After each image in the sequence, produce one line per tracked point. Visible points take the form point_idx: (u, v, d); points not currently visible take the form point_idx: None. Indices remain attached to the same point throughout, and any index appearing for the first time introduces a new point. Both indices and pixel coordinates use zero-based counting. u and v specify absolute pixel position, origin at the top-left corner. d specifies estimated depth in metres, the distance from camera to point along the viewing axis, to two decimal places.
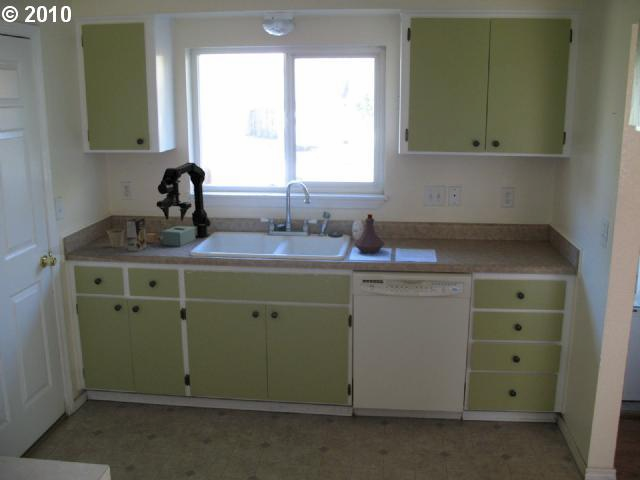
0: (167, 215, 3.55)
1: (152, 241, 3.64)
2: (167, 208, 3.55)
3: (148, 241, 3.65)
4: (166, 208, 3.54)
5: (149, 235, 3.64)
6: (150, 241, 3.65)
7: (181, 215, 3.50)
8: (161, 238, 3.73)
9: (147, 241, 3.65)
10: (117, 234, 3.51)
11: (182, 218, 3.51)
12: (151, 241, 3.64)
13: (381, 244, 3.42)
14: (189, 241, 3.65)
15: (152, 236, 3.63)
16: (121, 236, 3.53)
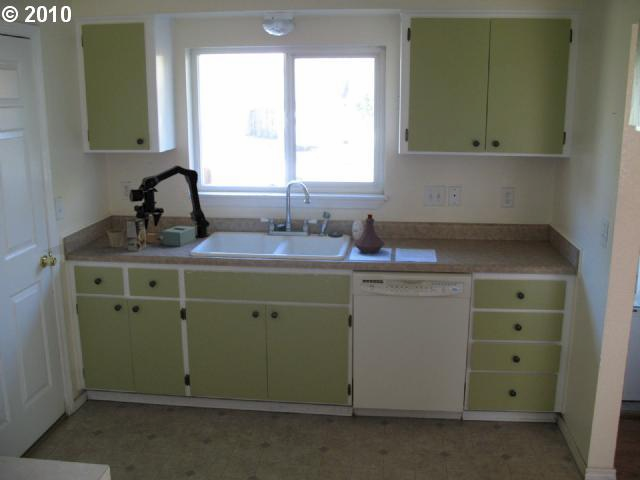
0: (155, 222, 3.68)
1: (152, 241, 3.64)
2: (157, 216, 3.67)
3: (148, 241, 3.65)
4: (155, 215, 3.68)
5: (149, 235, 3.64)
6: (150, 241, 3.65)
7: None
8: (161, 238, 3.73)
9: (147, 241, 3.65)
10: (117, 234, 3.51)
11: None
12: (151, 241, 3.64)
13: (381, 244, 3.42)
14: (189, 241, 3.65)
15: (152, 236, 3.63)
16: (121, 236, 3.53)
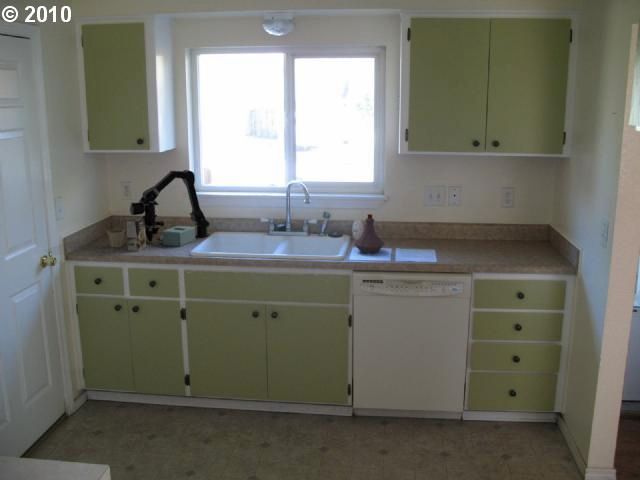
0: None
1: (152, 241, 3.64)
2: (154, 230, 3.66)
3: (148, 241, 3.65)
4: (152, 229, 3.66)
5: None
6: (150, 241, 3.65)
7: (147, 235, 3.64)
8: (161, 238, 3.73)
9: (147, 241, 3.65)
10: (117, 234, 3.51)
11: (148, 239, 3.64)
12: (151, 241, 3.64)
13: (381, 244, 3.42)
14: (189, 241, 3.65)
15: (152, 236, 3.63)
16: (121, 236, 3.53)
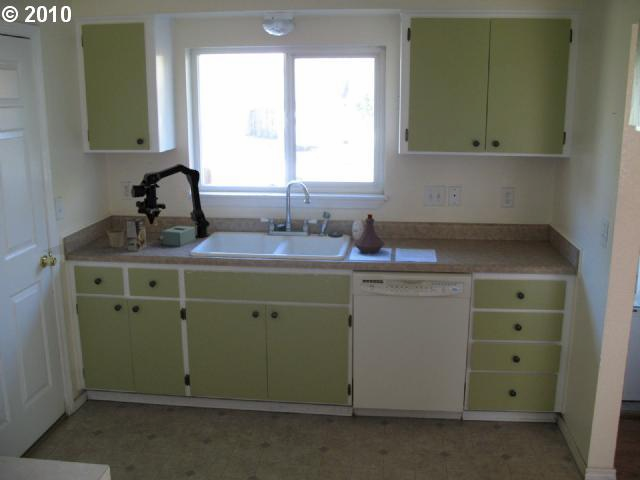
0: None
1: (153, 224, 3.62)
2: (155, 212, 3.64)
3: (149, 224, 3.63)
4: (154, 212, 3.64)
5: None
6: (151, 224, 3.63)
7: None
8: (161, 238, 3.73)
9: (148, 224, 3.63)
10: (117, 234, 3.51)
11: (150, 222, 3.62)
12: (152, 224, 3.62)
13: (381, 244, 3.42)
14: (189, 241, 3.65)
15: (153, 219, 3.61)
16: (121, 236, 3.53)
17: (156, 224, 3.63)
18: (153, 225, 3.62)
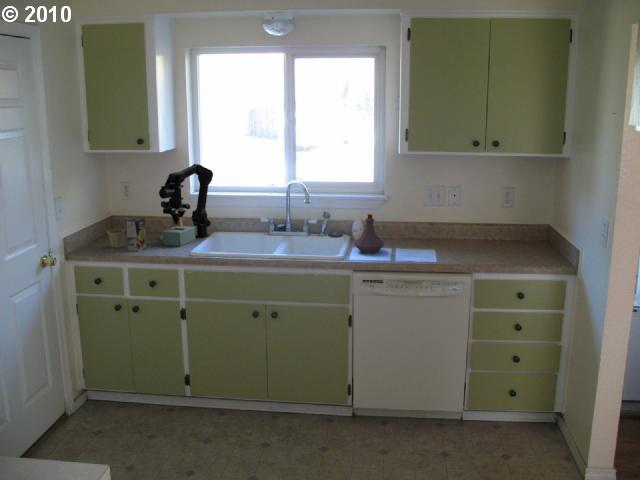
0: None
1: (178, 224, 3.62)
2: (180, 213, 3.63)
3: (174, 224, 3.63)
4: (178, 212, 3.64)
5: None
6: (176, 224, 3.62)
7: None
8: (161, 238, 3.73)
9: (173, 224, 3.63)
10: (117, 234, 3.51)
11: (174, 222, 3.61)
12: (177, 224, 3.62)
13: (381, 244, 3.42)
14: (189, 241, 3.65)
15: (178, 219, 3.61)
16: (121, 236, 3.53)
17: (181, 224, 3.62)
18: (178, 225, 3.62)
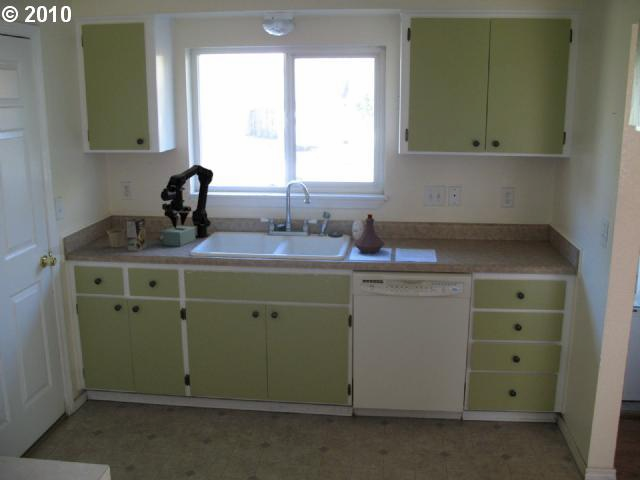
0: (182, 221, 3.66)
1: None
2: (184, 214, 3.66)
3: None
4: (182, 213, 3.66)
5: None
6: None
7: (172, 222, 3.59)
8: (161, 238, 3.73)
9: None
10: (117, 234, 3.51)
11: (173, 225, 3.59)
12: None
13: (381, 244, 3.42)
14: (189, 241, 3.65)
15: None
16: (121, 236, 3.53)
17: None
18: None
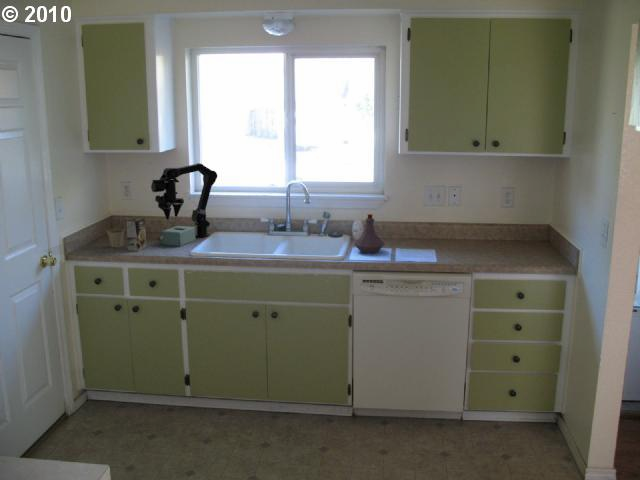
0: (176, 212, 3.73)
1: None
2: (177, 206, 3.72)
3: None
4: (175, 205, 3.72)
5: None
6: None
7: (165, 213, 3.64)
8: (161, 238, 3.73)
9: None
10: (117, 234, 3.51)
11: (166, 217, 3.64)
12: None
13: (381, 244, 3.42)
14: (189, 241, 3.65)
15: None
16: (121, 236, 3.53)
17: None
18: None
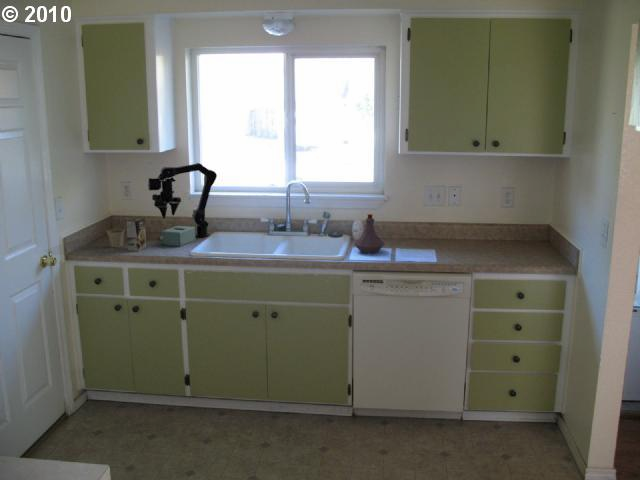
0: (173, 211, 3.76)
1: None
2: (174, 205, 3.76)
3: None
4: (173, 204, 3.76)
5: None
6: None
7: None
8: (161, 238, 3.73)
9: None
10: (117, 234, 3.51)
11: (162, 215, 3.68)
12: None
13: (381, 244, 3.42)
14: (189, 241, 3.65)
15: None
16: (121, 236, 3.53)
17: None
18: None
